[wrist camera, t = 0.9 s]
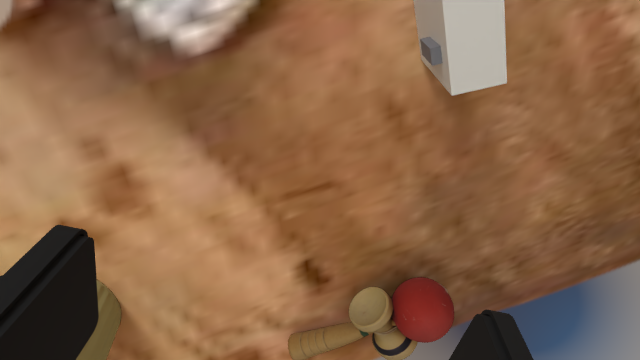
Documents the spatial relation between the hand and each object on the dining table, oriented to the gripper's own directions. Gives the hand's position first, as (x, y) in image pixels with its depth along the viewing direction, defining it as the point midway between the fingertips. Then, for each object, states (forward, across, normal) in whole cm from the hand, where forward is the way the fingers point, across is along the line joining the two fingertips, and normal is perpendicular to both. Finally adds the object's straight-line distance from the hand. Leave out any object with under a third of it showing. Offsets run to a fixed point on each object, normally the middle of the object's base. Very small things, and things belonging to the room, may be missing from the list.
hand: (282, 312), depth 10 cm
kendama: (+25, -10, +24) cm, 36 cm away
